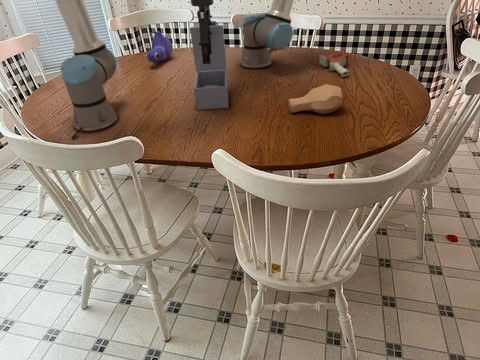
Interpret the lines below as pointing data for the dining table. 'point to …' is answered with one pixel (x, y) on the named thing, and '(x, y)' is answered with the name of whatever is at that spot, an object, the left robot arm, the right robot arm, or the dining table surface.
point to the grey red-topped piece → (335, 62)
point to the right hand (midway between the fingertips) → (208, 36)
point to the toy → (159, 48)
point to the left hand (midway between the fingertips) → (207, 58)
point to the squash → (319, 100)
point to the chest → (211, 90)
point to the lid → (216, 46)
